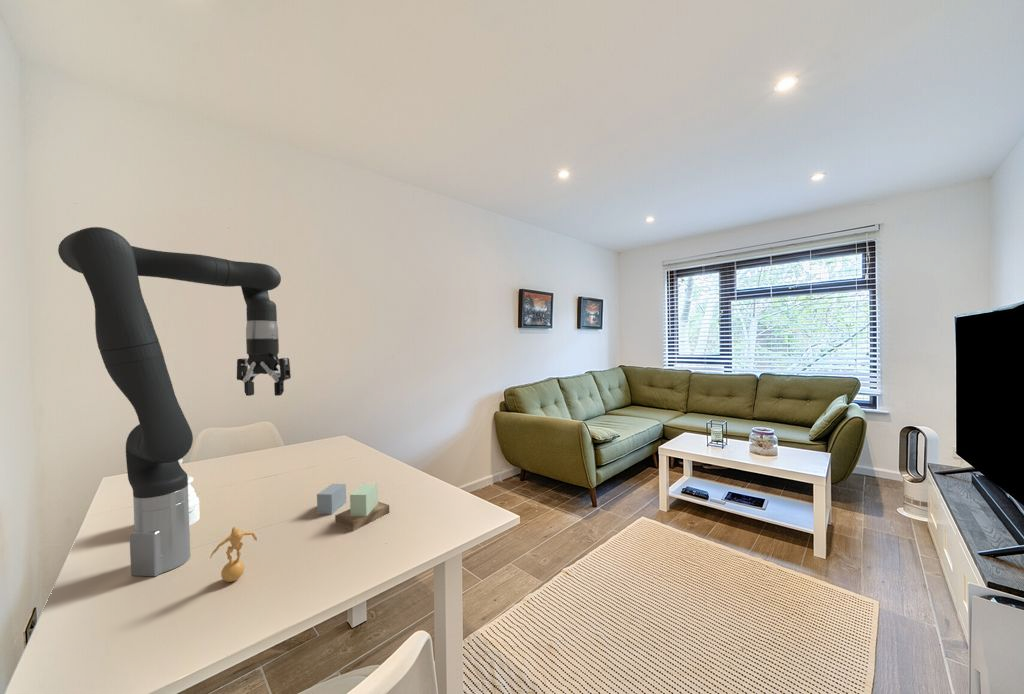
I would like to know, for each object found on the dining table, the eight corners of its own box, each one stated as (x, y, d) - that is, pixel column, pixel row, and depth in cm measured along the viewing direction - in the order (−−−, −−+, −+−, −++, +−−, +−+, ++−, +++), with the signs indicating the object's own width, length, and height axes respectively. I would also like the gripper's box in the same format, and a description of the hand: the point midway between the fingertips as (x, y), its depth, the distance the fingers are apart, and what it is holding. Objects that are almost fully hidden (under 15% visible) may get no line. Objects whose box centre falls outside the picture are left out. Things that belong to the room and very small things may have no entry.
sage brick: (366, 516, 104) (365, 494, 104) (350, 516, 104) (349, 494, 104) (378, 503, 112) (377, 483, 112) (363, 503, 112) (362, 483, 112)
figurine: (251, 567, 85) (250, 514, 85) (262, 576, 81) (261, 521, 81) (206, 586, 78) (204, 530, 78) (215, 598, 75) (213, 538, 75)
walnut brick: (353, 533, 100) (353, 522, 100) (335, 526, 105) (335, 515, 105) (389, 515, 111) (389, 505, 111) (371, 509, 115) (371, 499, 115)
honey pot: (208, 510, 114) (206, 452, 114) (186, 531, 102) (184, 465, 102) (155, 517, 111) (153, 456, 110) (126, 539, 98) (123, 471, 98)
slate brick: (332, 514, 110) (331, 494, 110) (317, 514, 111) (316, 494, 111) (346, 502, 118) (345, 484, 118) (332, 502, 119) (332, 483, 119)
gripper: (227, 337, 102) (229, 397, 102) (277, 336, 100) (278, 397, 101) (249, 338, 109) (251, 393, 110) (295, 337, 108) (297, 393, 108)
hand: (264, 395), depth 105 cm, fingers open, 8 cm apart
